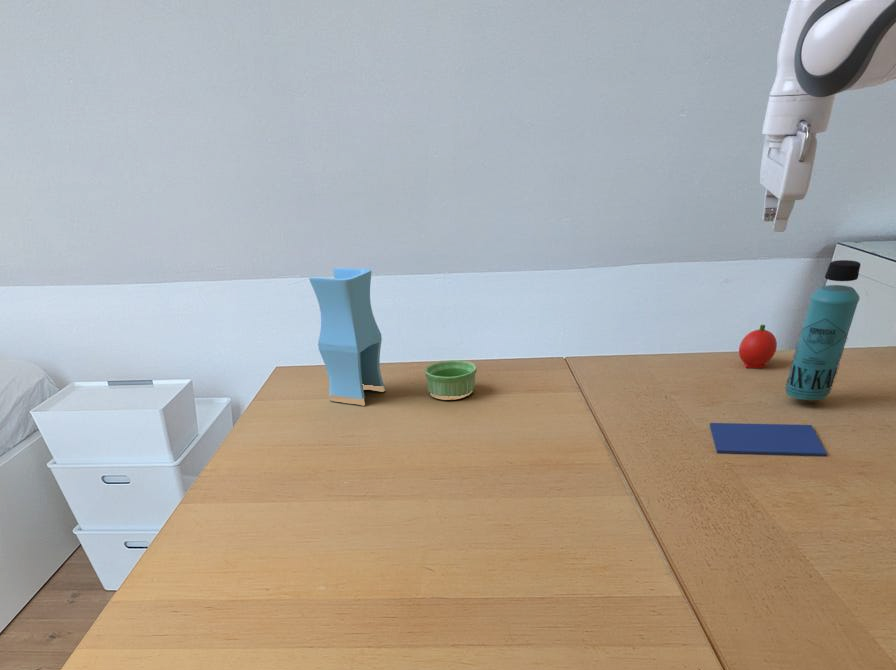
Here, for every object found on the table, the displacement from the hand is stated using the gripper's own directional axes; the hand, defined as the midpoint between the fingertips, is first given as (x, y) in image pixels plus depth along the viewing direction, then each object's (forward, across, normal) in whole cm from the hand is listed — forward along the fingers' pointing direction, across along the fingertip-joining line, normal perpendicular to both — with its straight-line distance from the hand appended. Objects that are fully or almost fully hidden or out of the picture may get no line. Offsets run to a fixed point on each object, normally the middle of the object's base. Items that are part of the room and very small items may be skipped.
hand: (772, 225), depth 112 cm
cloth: (+22, -34, +1) cm, 40 cm away
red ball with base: (+22, -1, -2) cm, 22 cm away
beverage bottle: (+22, -19, -7) cm, 30 cm away
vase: (+22, -18, +67) cm, 73 cm away
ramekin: (+22, -16, +50) cm, 57 cm away
